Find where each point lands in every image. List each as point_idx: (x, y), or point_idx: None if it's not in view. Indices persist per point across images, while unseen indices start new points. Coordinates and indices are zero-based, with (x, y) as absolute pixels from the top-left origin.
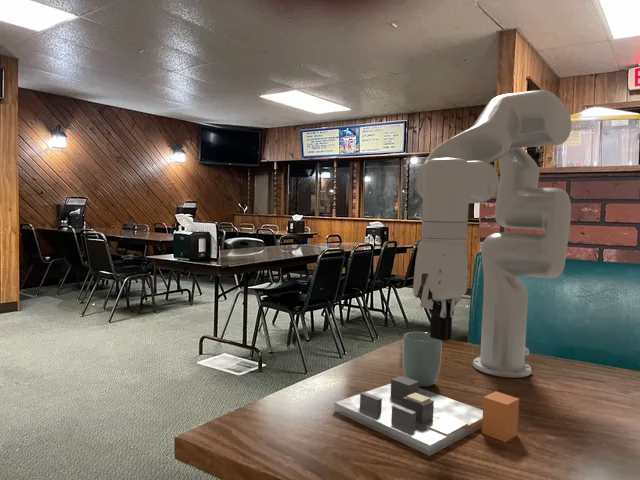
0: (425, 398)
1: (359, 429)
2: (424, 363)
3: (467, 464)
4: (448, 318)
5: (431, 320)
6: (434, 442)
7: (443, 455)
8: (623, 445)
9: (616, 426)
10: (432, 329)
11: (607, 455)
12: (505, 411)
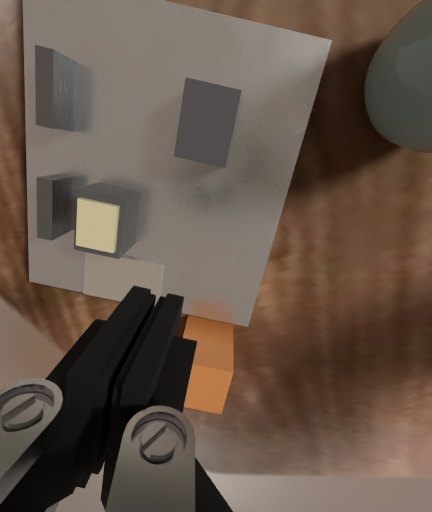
0: (100, 245)
1: (17, 111)
2: (393, 114)
3: (66, 325)
4: (85, 483)
5: (90, 347)
6: (43, 283)
7: (62, 289)
8: (287, 466)
9: (359, 460)
10: (87, 332)
11: (238, 453)
12: None
